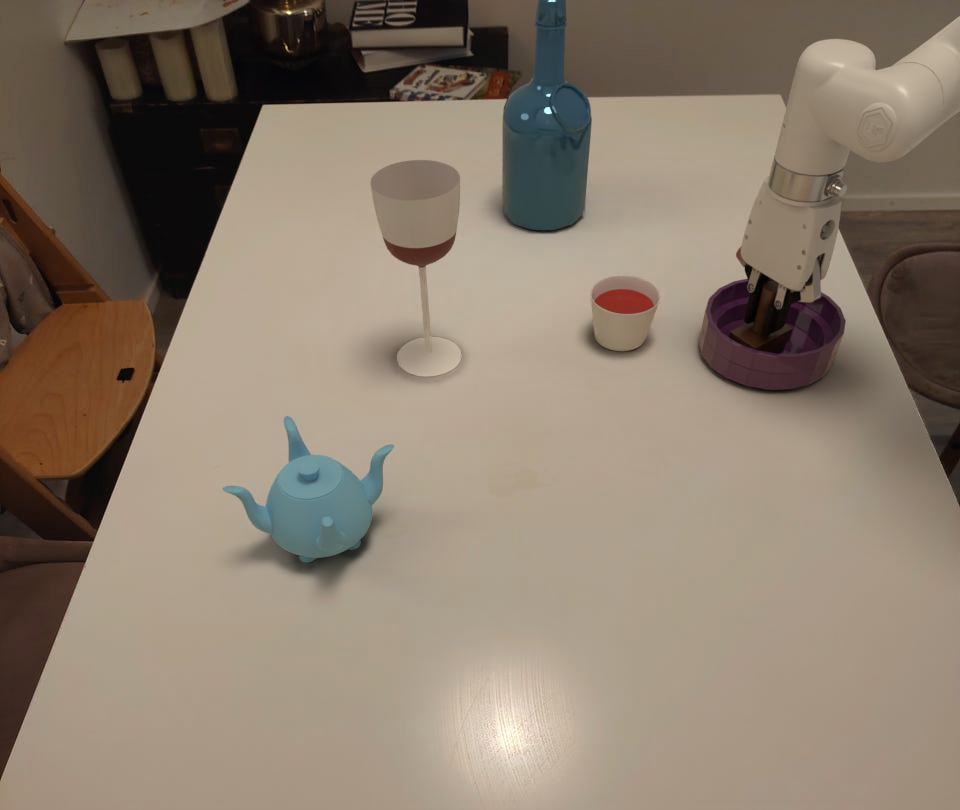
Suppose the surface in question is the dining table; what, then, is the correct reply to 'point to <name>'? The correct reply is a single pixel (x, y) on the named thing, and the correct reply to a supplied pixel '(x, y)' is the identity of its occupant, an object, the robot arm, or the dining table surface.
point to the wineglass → (420, 242)
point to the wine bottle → (546, 135)
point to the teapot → (316, 501)
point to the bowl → (793, 368)
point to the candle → (623, 311)
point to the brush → (753, 331)
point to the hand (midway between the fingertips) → (763, 324)
